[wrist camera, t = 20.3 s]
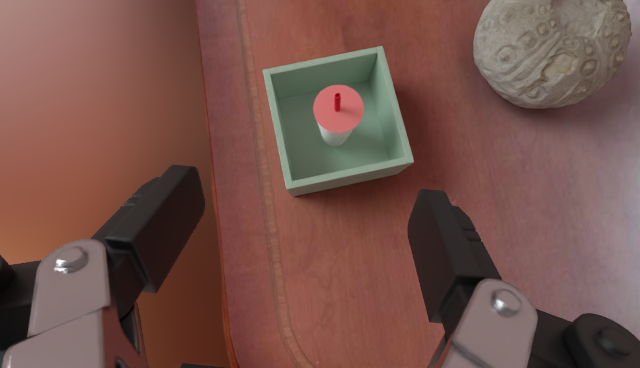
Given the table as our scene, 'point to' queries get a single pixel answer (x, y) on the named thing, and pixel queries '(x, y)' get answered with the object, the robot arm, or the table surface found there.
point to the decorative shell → (550, 48)
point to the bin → (364, 141)
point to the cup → (337, 113)
